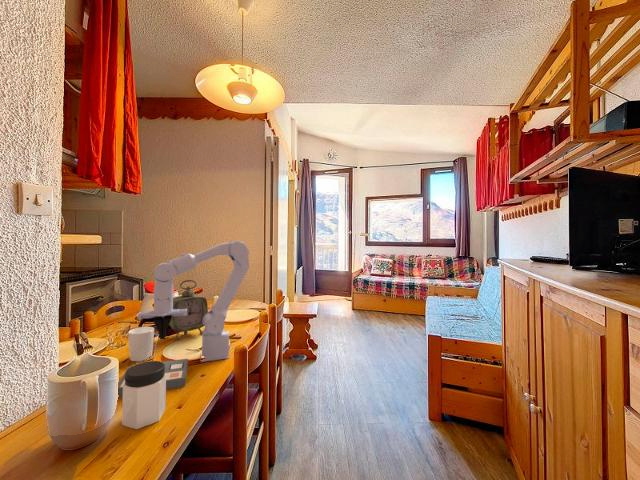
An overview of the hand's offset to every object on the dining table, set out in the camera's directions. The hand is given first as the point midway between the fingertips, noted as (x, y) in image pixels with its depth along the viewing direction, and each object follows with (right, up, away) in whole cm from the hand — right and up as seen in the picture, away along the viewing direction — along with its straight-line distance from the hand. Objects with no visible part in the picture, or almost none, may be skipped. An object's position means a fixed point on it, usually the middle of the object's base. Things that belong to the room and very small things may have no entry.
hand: (162, 338), depth 93 cm
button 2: (+8, -9, -5) cm, 13 cm away
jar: (+11, -10, -27) cm, 31 cm away
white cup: (-11, -9, +6) cm, 16 cm away
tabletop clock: (-6, -10, +29) cm, 31 cm away
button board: (+3, -9, -9) cm, 14 cm away
